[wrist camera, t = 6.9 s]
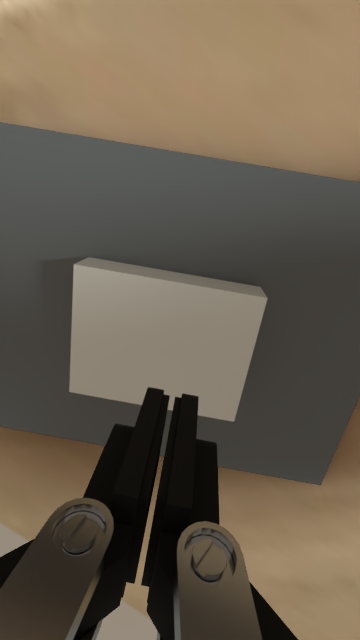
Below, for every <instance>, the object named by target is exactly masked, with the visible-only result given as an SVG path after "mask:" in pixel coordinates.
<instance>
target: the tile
mask: <svg viewBox="0 0 360 640" xmlns="http://www.w3.org/2000/svg"><path fill="white" fill-rule="evenodd" d="M267 299H268V298H267V296H266V295H265V293H264V292H263V290H262V288H261V287H258V286H252V285H247V284H241V283H235V282H229V281H224V280H218V279H212V278H206V277H201V276H195V275H189V274H183V273H178V272H172V271H166V270H160V269H155V268H149V267H143V266H137V265H132V264H126V263H120V262H114V261H109V260H103V259H97V258H91V257H88V258H86V259H84V260H82V261H80V262H78V263H75V264H74V271H73V299H72V328H71V356H70V385H69V392H72V393H78V394H83V395H89V396H94V397H100V398H105V399H111V400H116V401H122V402H127V403H133V404H139V405H142V403H143V400H144V397H145V394H146V391H147V388H148V387H151V388H157V389H162V390H164V395H170V398H169V404H168V410H172V411H173V406H174V400H175V397H180V398H181V397H182V393H183V394H189V395H194V396H199V401H198V415H199V416H205V417H210V418H216V419H221V420H227V421H232V422H234V420H235V417H236V413H237V409H238V405H239V402H240V398H241V394H242V391H243V387H244V383H245V380H246V376H247V372H248V369H249V365H250V361H251V358H252V354H253V350H254V347H255V343H256V339H257V335H258V332H259V328H260V324H261V321H262V317H263V313H264V310H265V306H266V302H267Z"/></svg>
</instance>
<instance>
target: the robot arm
mask: <svg viewBox="0 0 360 640" xmlns="http://www.w3.org/2000/svg"><path fill="white" fill-rule="evenodd" d="M169 398H170V395H164V390H162V389H157V388H151V387H148V388H147V391H146V394H145V397H144V400H143V403H142V406H141V409H140V412H139V415H138V418H137V421H136V424H135V427H132V426H127V425H121V424H115V425H114V427H113V429H112V431H111V433H110V436H109V438H108V440H107V443H106V445H105V447H104V450H103V452H102V454H101V457H100V459H99V461H98V464H97V466H96V468H95V471H94V473H93V475H92V478H91V480H90V482H89V485H88V487H87V489H86V492H85V494H84V496H83V498H78V499H74V500H71V501H69V502H66V503H65V504H63V505H62V506H60V507H59V508H57V509H56V510H55V511H54V513H53V514H52V515H51V516H50V517H49V519H48V520H47V522H46V523H45V524H44V526H43V527H42V529H41V530H40V532H39V533H38V535H37V536H36V538H35V539H33V540H31V541H30V542H28V543H26V544H24V545H22V546H20V547H18V548H17V549H15V550H13V551H11V552H9V553H7V554H5V555H4V556H2V557H0V640H96V638H97V635H98V633H99V630H100V627H101V624H102V620H103V618H105V617H106V616H107V615H108V614H110V613H111V612H112V611H113V610H115V609H116V608H117V607H118V606H119V605H120V601H121V597H123V595H124V590H125V586H126V582H129V583H135V578H136V573H137V568H138V563H139V558H140V553H141V548H142V543H143V538H144V533H145V528H146V522H147V517H148V512H149V507H150V502H151V497H152V492H153V487H154V482H155V477H156V472H157V467H158V461H159V456H160V450H161V444H162V438H163V433H164V427H165V421H166V415H167V410H168V404H169ZM198 401H199V396H194V395H189V394H183V393H182V397H181V398H180V397H175V400H174V406H173V411H172V417H171V422H170V428H169V433H168V439H167V444H166V450H165V455H164V461H163V466H162V472H161V478H160V483H159V489H158V494H157V500H156V505H155V511H154V517H153V522H152V528H151V533H150V539H149V545H148V550H147V556H146V561H145V567H144V572H143V578H142V584H141V585H143V586H148V587H149V593H148V599H147V603H148V605H147V613H148V615H149V616H150V618H151V620H152V622H153V624H154V625H155V627H156V629H157V631H158V633H157V640H298V639H297V638H296V637H295V635H294V634H293V633H292V632H291V631H290V629H289V628H288V627H287V626H286V625H285V623H284V622H283V621H282V620H281V619H280V618H279V616H278V615H277V614H276V613H275V612H274V610H273V609H272V608H271V607H270V606H269V604H268V603H267V602H266V601H265V600H264V598H263V597H262V596H261V595H260V594H259V592H258V591H257V590H256V589H255V588H254V586H253V585H252V584H251V583H250V582H249V579H248V574H247V570H246V566H245V561H244V557H243V554H242V551H241V548H240V546H239V544H238V542H237V541H236V539H235V538H234V536H233V535H232V534H231V533H230V532H229V531H227V530H226V529H225V528H224V527H222V526H220V525H219V495H218V460H217V444H216V442H211V441H205V440H200V439H196V435H197V418H198Z"/></svg>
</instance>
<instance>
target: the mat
mask: <svg viewBox="0 0 360 640" xmlns="http://www.w3.org/2000/svg"><path fill="white" fill-rule="evenodd" d="M88 257H91V258H97V259H103V260H109V261H114V262H120V263H126V264H132V265H137V266H143V267H149V268H155V269H160V270H166V271H172V272H178V273H183V274H189V275H195V276H201V277H206V278H212V279H218V280H224V281H229V282H235V283H241V284H247V285H252V286H258V287H261V288H262V290H263V292H264V293H265V295H266V296H267V298H268V299H267V302H266V306H265V310H264V313H263V317H262V321H261V324H260V328H259V332H258V335H257V339H256V343H255V347H254V350H253V354H252V358H251V361H250V365H249V369H248V372H247V376H246V380H245V383H244V387H243V391H242V394H241V398H240V402H239V405H238V409H237V413H236V417H235V420H234V422H232V421H227V420H221V419H216V418H210V417H205V416H199V415H198V418H197V435H196V439H200V440H205V441H211V442H216V444H217V460H218V467H224V468H229V469H235V470H240V471H246V472H251V473H256V474H262V475H267V476H273V477H278V478H284V479H289V480H295V481H300V482H305V483H311V484H316V485H321V483H322V481H323V479H324V477H325V474H326V472H327V470H328V467H329V465H330V463H331V460H332V458H333V456H334V454H335V451H336V449H337V447H338V444H339V442H340V440H341V437H342V435H343V433H344V431H345V428H346V426H347V424H348V421H349V419H350V417H351V414H352V412H353V410H354V407H355V405H356V403H357V401H358V398H359V396H360V182H354V181H348V180H342V179H336V178H330V177H324V176H318V175H312V174H306V173H300V172H294V171H288V170H282V169H276V168H270V167H264V166H258V165H252V164H246V163H240V162H234V161H229V160H223V159H217V158H211V157H205V156H199V155H193V154H187V153H181V152H175V151H169V150H163V149H157V148H151V147H145V146H139V145H133V144H127V143H121V142H115V141H109V140H103V139H97V138H91V137H85V136H79V135H73V134H67V133H61V132H55V131H49V130H43V129H37V128H31V127H25V126H19V125H13V124H7V123H2V122H0V427H6V428H11V429H17V430H22V431H28V432H33V433H39V434H44V435H49V436H55V437H60V438H66V439H71V440H77V441H82V442H88V443H93V444H98V445H104V446H105V445H106V443H107V440H108V438H109V436H110V433H111V431H112V429H113V427H114V425H115V424H121V425H127V426H132V427H135V424H136V421H137V418H138V415H139V412H140V409H141V406H142V405H139V404H133V403H127V402H122V401H116V400H111V399H105V398H100V397H94V396H89V395H83V394H78V393H72V392H69V385H70V356H71V328H72V299H73V271H74V264H75V263H78V262H80V261H82V260H84V259H86V258H88ZM171 417H172V410H167V415H166V421H165V427H164V433H163V438H162V444H161V450H160V456H164V455H165V450H166V444H167V439H168V433H169V428H170V422H171Z"/></svg>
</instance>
